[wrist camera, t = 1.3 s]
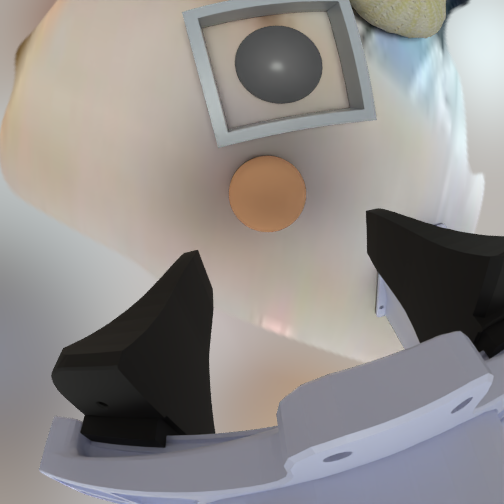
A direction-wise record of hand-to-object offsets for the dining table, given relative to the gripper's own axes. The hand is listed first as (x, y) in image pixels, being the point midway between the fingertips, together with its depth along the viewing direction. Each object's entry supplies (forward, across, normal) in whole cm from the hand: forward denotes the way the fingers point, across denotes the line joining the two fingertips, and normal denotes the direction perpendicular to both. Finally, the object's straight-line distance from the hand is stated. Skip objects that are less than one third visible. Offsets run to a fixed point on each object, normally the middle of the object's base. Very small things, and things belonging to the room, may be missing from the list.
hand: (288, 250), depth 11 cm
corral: (+10, -3, -8) cm, 13 cm away
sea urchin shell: (+10, -13, -15) cm, 22 cm away
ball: (+10, 0, 0) cm, 10 cm away
